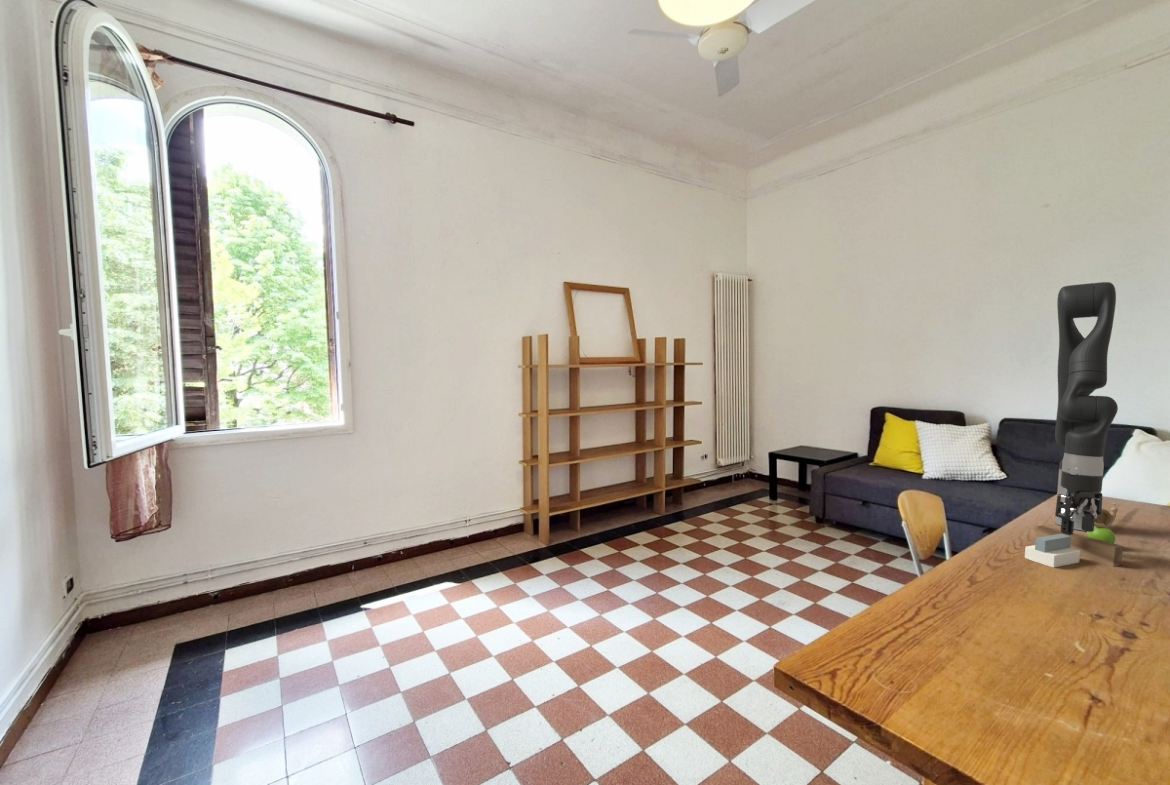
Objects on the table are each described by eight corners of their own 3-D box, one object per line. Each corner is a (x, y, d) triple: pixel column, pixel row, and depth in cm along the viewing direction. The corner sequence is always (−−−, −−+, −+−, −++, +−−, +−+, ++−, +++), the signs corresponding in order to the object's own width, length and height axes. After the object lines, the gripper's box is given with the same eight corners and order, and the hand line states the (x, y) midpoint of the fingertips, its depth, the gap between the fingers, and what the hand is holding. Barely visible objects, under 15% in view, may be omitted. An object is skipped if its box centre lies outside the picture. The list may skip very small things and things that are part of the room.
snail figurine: (1124, 550, 129) (1128, 506, 128) (1100, 549, 129) (1103, 506, 129) (1103, 542, 135) (1106, 500, 134) (1080, 542, 135) (1083, 500, 134)
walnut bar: (1044, 542, 135) (1045, 524, 135) (1121, 565, 120) (1123, 546, 120) (1035, 543, 134) (1037, 526, 134) (1113, 567, 119) (1114, 547, 119)
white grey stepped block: (1050, 553, 127) (1051, 531, 126) (1079, 562, 121) (1081, 539, 121) (1024, 557, 124) (1026, 535, 123) (1053, 567, 118) (1055, 543, 118)
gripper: (1080, 467, 131) (1076, 525, 132) (1046, 469, 127) (1041, 530, 128) (1118, 473, 124) (1112, 534, 125) (1083, 476, 120) (1078, 540, 121)
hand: (1077, 532), depth 127 cm, fingers open, 8 cm apart
